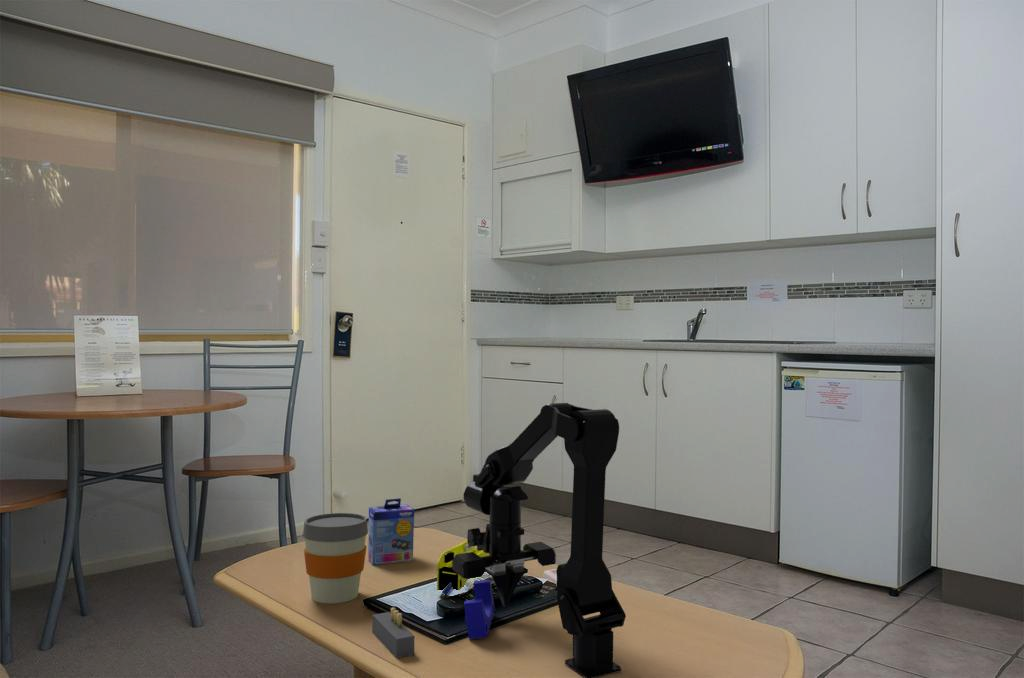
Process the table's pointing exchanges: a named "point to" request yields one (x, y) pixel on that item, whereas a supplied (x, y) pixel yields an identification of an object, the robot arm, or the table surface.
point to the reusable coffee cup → (335, 555)
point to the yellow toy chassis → (445, 566)
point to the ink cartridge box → (391, 533)
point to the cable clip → (480, 610)
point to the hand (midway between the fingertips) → (504, 605)
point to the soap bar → (550, 575)
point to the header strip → (393, 633)
